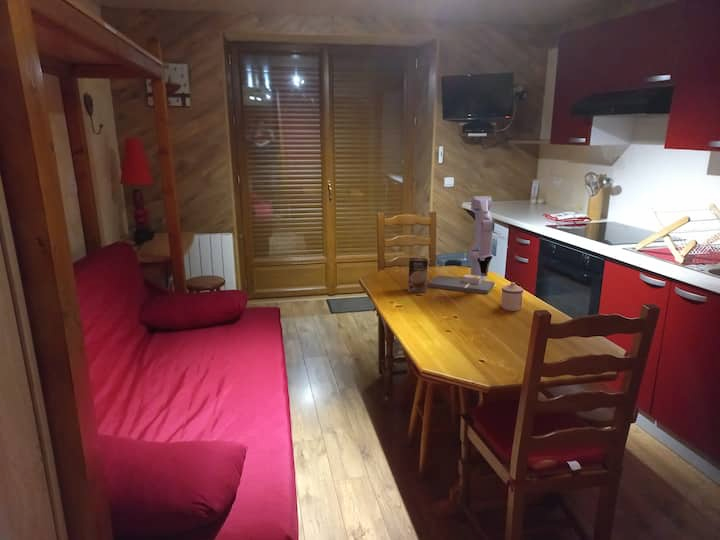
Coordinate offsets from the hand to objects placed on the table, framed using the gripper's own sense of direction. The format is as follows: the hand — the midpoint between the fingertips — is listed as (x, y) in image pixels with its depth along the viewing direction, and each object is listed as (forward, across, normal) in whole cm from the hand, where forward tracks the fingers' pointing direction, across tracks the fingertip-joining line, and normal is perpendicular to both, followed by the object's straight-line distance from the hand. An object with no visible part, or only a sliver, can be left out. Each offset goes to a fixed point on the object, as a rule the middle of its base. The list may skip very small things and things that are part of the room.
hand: (484, 271), depth 240 cm
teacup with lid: (+10, +18, +16) cm, 26 cm away
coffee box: (+10, +12, -30) cm, 34 cm away
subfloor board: (+10, -4, -12) cm, 16 cm away
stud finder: (+8, -7, -7) cm, 13 cm away
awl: (+2, 0, 0) cm, 2 cm away
